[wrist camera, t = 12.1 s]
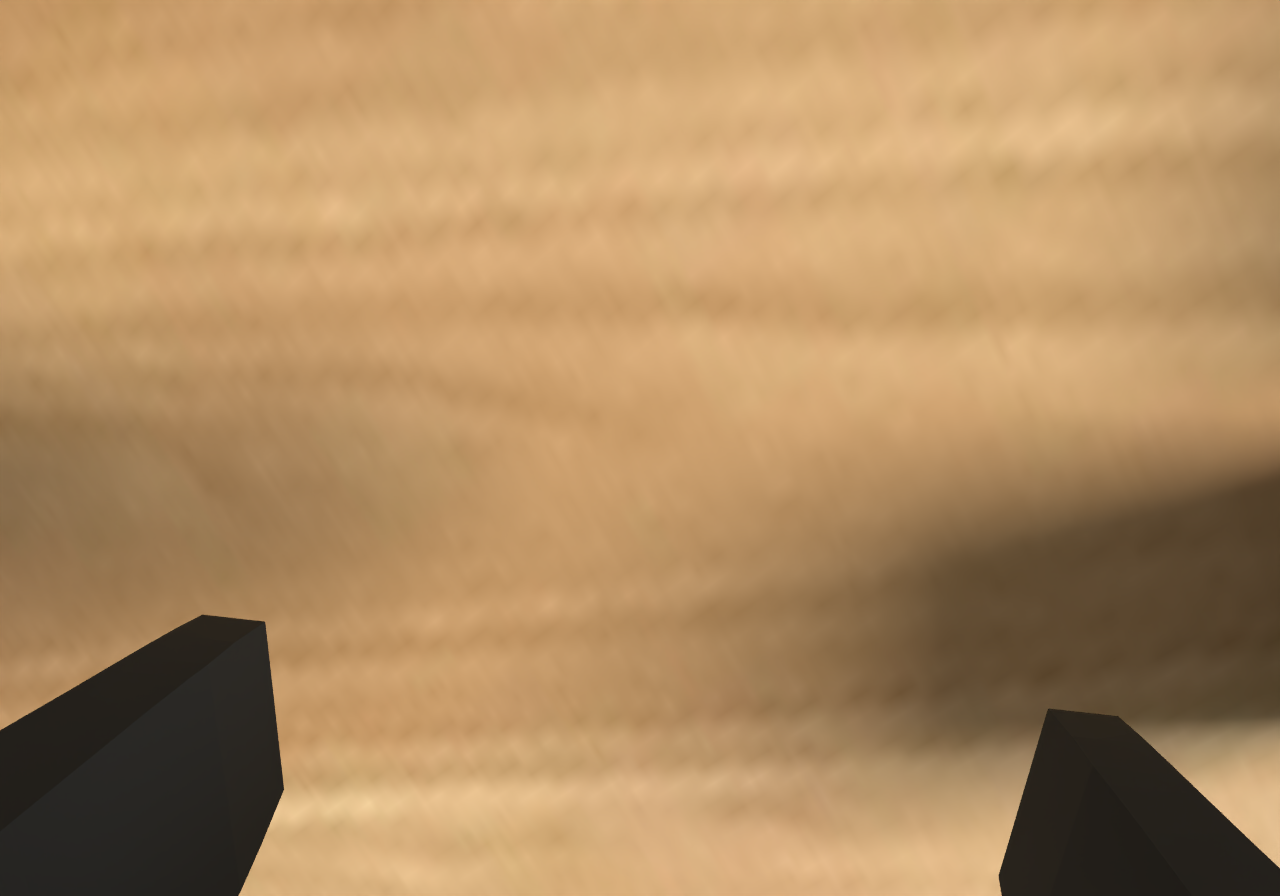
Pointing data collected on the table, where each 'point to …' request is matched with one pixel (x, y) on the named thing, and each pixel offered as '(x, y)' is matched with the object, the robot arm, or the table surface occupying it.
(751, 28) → the table surface
